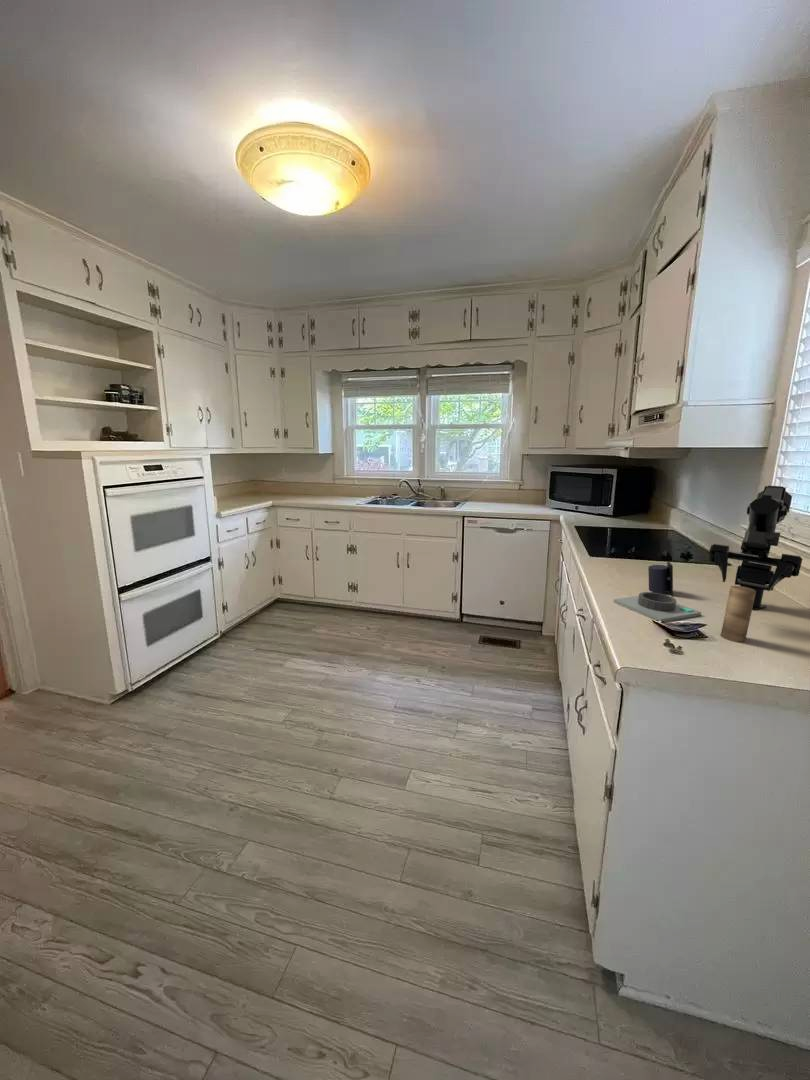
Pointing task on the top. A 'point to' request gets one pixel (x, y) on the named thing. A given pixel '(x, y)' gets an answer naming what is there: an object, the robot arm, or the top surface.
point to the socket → (657, 606)
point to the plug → (738, 613)
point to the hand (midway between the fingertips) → (745, 585)
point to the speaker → (661, 578)
